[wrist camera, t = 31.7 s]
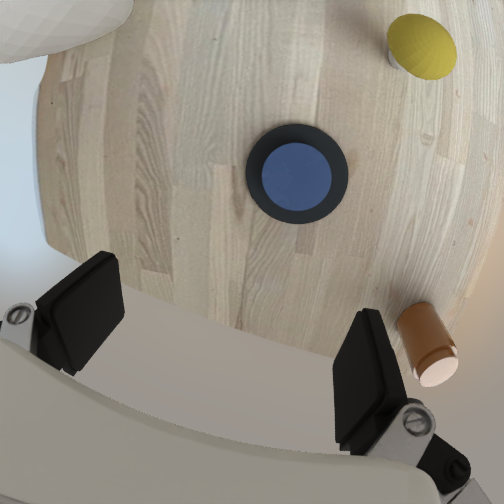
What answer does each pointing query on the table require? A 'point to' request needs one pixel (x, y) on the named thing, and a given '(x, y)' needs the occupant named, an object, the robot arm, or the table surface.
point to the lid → (296, 176)
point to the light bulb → (421, 47)
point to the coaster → (315, 140)
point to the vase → (55, 25)
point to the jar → (427, 344)
